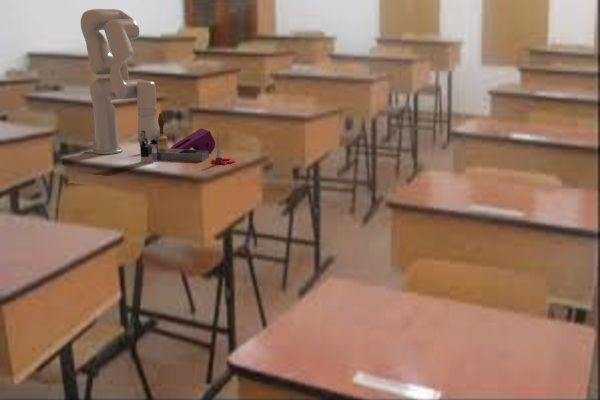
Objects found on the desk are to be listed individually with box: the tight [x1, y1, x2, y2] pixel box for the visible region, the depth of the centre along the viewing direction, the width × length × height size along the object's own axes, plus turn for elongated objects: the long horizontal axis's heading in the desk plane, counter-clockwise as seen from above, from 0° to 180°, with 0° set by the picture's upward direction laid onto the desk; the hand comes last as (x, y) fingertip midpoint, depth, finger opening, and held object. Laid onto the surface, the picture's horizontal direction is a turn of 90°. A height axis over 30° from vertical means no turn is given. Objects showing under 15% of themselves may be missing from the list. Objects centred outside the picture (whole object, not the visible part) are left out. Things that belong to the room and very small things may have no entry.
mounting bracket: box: [170, 127, 216, 153], centre depth 325 cm, size 10×8×18 cm
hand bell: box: [157, 112, 172, 149], centre depth 330 cm, size 8×8×16 cm
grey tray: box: [157, 148, 210, 163], centre depth 311 cm, size 22×9×3 cm, turn 78°
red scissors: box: [210, 131, 236, 166], centre depth 304 cm, size 8×13×9 cm
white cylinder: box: [140, 143, 158, 164], centre depth 304 cm, size 5×5×7 cm
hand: (149, 154), depth 304 cm, fingers open, 9 cm apart
